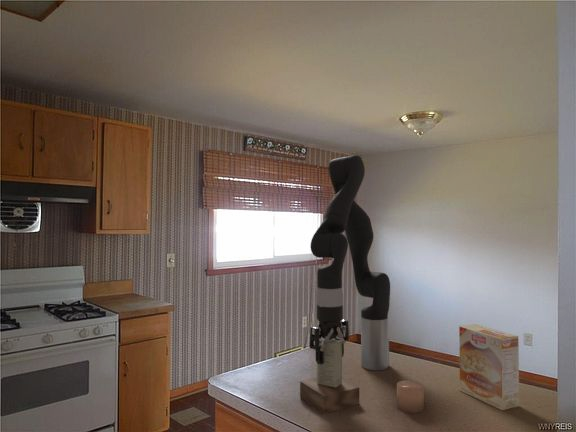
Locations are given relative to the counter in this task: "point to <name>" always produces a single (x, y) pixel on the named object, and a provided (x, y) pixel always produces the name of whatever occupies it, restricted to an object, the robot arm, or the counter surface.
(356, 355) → the counter surface
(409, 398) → the pink rounded knob
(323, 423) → the counter surface
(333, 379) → the skincare box
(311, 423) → the counter surface
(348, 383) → the walnut block
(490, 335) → the coffeecake box
